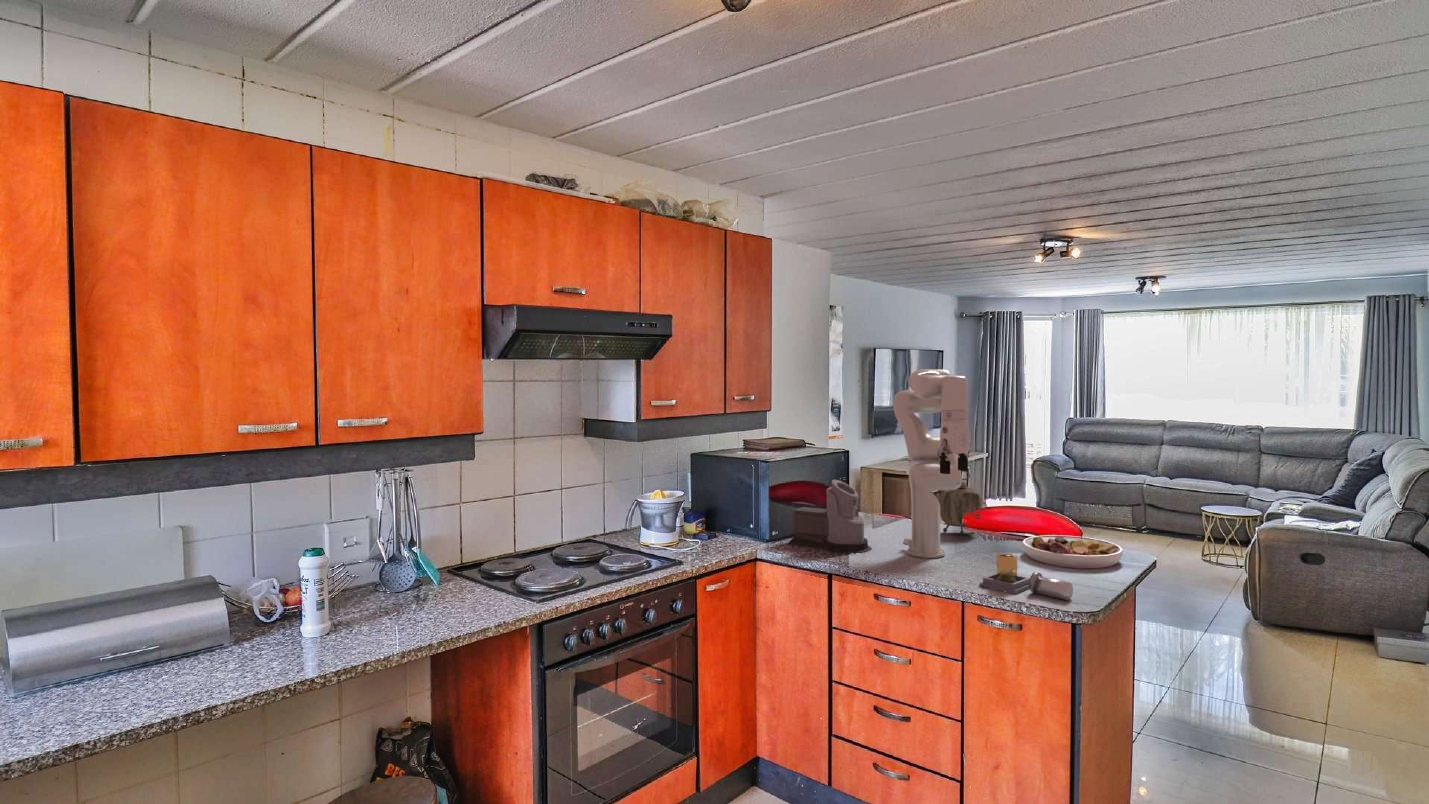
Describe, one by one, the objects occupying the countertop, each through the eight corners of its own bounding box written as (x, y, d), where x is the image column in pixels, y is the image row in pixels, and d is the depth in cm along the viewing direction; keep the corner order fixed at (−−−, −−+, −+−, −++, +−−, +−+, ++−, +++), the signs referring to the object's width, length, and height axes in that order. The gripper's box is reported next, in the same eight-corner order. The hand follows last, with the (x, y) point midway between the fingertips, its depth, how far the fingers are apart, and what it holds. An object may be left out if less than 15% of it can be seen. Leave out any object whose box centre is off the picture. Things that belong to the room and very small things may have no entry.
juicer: (878, 546, 269) (877, 479, 268) (861, 556, 256) (860, 485, 255) (803, 537, 285) (802, 474, 284) (783, 545, 272) (783, 479, 271)
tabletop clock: (976, 531, 291) (977, 468, 290) (983, 536, 282) (983, 471, 281) (939, 531, 292) (939, 468, 291) (944, 536, 283) (944, 471, 282)
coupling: (992, 582, 218) (992, 554, 217) (1002, 579, 221) (1003, 552, 221) (1010, 586, 213) (1011, 558, 213) (1020, 583, 217) (1020, 555, 216)
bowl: (1040, 545, 269) (1040, 523, 269) (1133, 558, 249) (1133, 534, 248) (1008, 561, 247) (1008, 537, 247) (1107, 577, 227) (1107, 551, 226)
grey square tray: (979, 586, 218) (979, 577, 218) (998, 578, 225) (998, 570, 225) (1015, 594, 209) (1015, 585, 209) (1034, 586, 216) (1034, 578, 216)
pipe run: (1028, 594, 209) (1028, 573, 209) (1038, 590, 213) (1038, 570, 213) (1064, 602, 201) (1064, 581, 201) (1073, 597, 205) (1073, 577, 205)
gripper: (949, 418, 218) (949, 476, 218) (980, 415, 229) (980, 470, 229) (927, 417, 223) (927, 473, 224) (958, 414, 234) (958, 468, 235)
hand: (954, 472), depth 227 cm, fingers open, 9 cm apart
